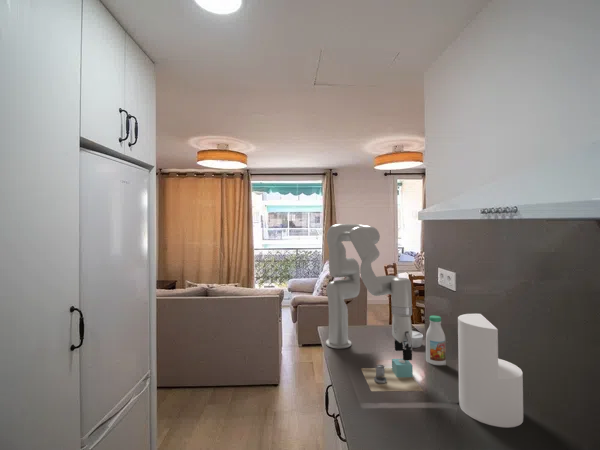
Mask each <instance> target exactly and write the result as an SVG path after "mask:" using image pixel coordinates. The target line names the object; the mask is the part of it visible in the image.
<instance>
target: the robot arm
mask: <svg viewBox="0 0 600 450" xmlns="http://www.w3.org/2000/svg"><path fill="white" fill-rule="evenodd" d="M380 237H381V236H380V232H379V230H378V229H377V228H376V227H374V226H369V225H364V224H359V223H358V224H357V223H337V224H332V225H331V226H330V227H329V228H328V229H327V232H326V242H327V243H326V244H327V248H328V271H329V274H330V276H331V277H332V278H335V280H332V281H330V282H328V283H327V285H326V296H327V303H328V338H327V339H326V340H325V345H326V346H327V347H329V348H333V349H338V350H339V349H341V350H343V349H347V348H349V347H351V346H352V341H351V340H350V339H349V312H348V311H349V310H348V309H349V308H348V306H347V304H346V302H345V300H348V299H354V298H357V297H358V296H359V294H360V291H361V281H362V283H363V284H364V285H363V286H364V287H365V288H366V289H367V291H368V292H369V294H370V295H372V296H374V297H375V296H376V297H379V296H385V295H391V298H390V299H391V315H392V320H391V322H392V323H391V324H392V325H391V336H392V337H393V338H394V351H397V352H401V351H402V359H403V360H408V361H412V360H413V348H412V331H413V328H412V327H413V326H412V320H411V319H412V318H411V316H412V315H413V304H412V302H413V301H412V300H413V299H412V298H413V297H412V281H411V280H410V278H407V277H398V276H395V275H390V274H388V275H380V276H378V275H377V276H376V273H375V272H374V270H373V268H372V263H373V262H375V261H376V260H377V259H378V258H379V257H380V254H381V253H380V251H379V249H378V247H377V246H376V244H378V243H379V241H380V239H381V238H380ZM343 242H351V243H352V245H353V247H354V249H355V250H356V253H357V254H358V257H359V259H360V260H361V263H360V264H359V262H358V261H357V260H356V259H355V258H353V257H347V250H346V247H345V245H344V244H343ZM337 278H338V279H337ZM339 278H340V279H339ZM341 278H345V279H341ZM404 340H407V341H404ZM405 343H407V344H406V346H405Z"/></svg>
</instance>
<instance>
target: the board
mask: <svg viewBox="0 0 600 450" xmlns="http://www.w3.org/2000/svg"><path fill="white" fill-rule="evenodd" d="M360 370H361V372H362V374H363V376H364V379H365V380H366V383H367V385H368V388H369V389H370V391H371V392H421V391H422V392H423V391H424V389H422V387H421V386H420V385H419V384H418V382H417V381H416V379H415V378H414V377H396V375H395V374H394V372H393V371H392V367H384V372H385V378H386V379H387V382H386V384H377V383H375V382H374V377H375V376H376V367H371V368H370V367H369V368H368V367H365V368H364V367H362V368H360Z"/></svg>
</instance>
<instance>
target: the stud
mask: <svg viewBox="0 0 600 450" xmlns="http://www.w3.org/2000/svg"><path fill="white" fill-rule="evenodd" d="M375 368H376V376H375V377H374V382H375V383H377V384H386V382H387V379H386V378H385V372H384V368H385V365H383V364H375Z"/></svg>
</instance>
